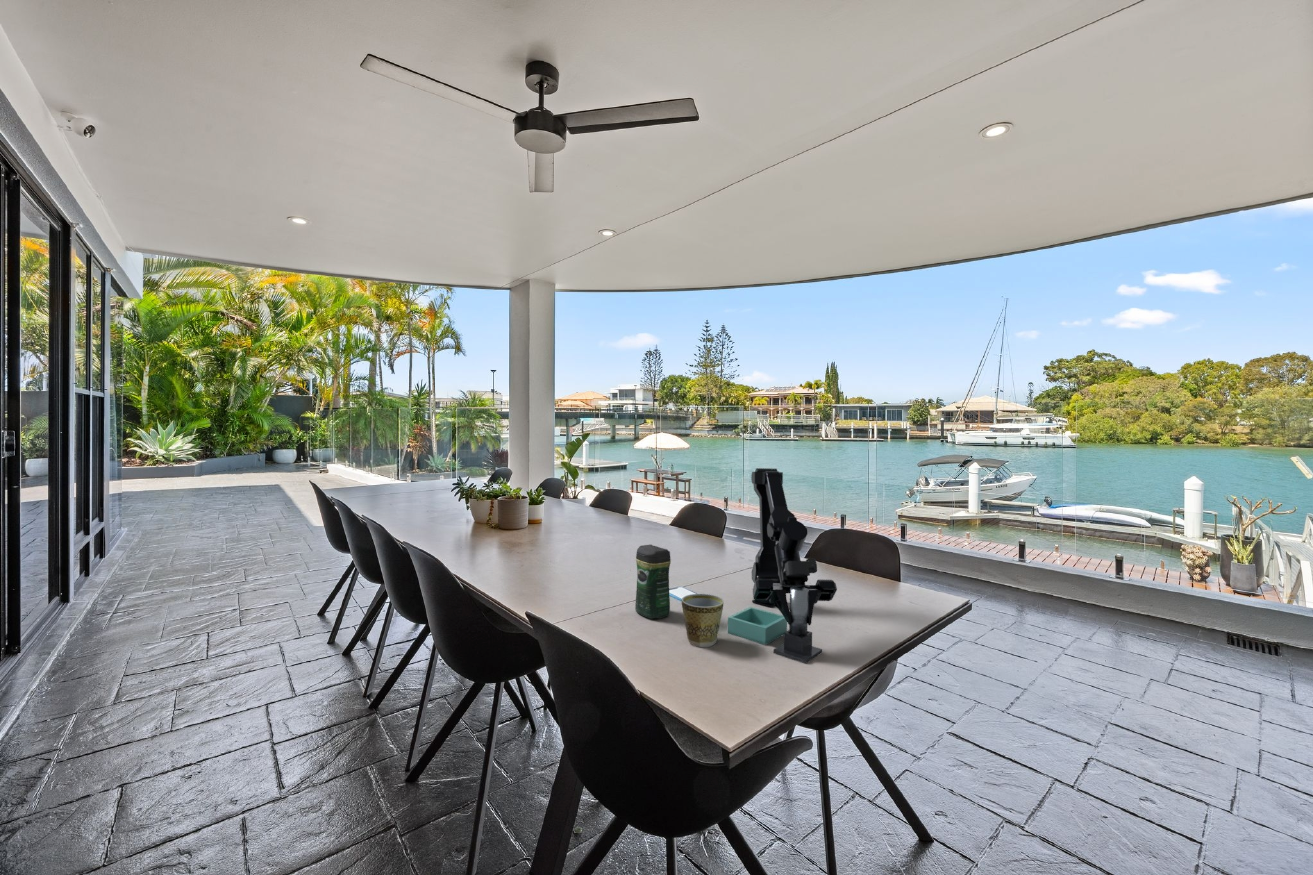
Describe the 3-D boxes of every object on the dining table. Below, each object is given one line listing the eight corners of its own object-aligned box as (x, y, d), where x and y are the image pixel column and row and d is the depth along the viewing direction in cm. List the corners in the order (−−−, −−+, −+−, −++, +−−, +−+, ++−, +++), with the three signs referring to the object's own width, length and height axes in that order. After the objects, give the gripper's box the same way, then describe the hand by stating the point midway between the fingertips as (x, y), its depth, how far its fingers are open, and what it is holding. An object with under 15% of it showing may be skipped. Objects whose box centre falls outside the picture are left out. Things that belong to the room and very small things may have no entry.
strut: (783, 649, 123) (785, 589, 123) (793, 643, 127) (794, 584, 126) (802, 655, 120) (803, 593, 120) (811, 649, 124) (813, 588, 123)
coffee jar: (674, 616, 146) (676, 547, 146) (651, 622, 141) (652, 551, 141) (653, 606, 154) (654, 541, 153) (630, 611, 149) (631, 544, 149)
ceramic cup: (728, 649, 125) (728, 606, 125) (685, 651, 123) (686, 607, 123) (713, 628, 138) (713, 589, 138) (674, 629, 136) (675, 590, 136)
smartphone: (693, 605, 154) (662, 590, 166) (692, 609, 154) (662, 593, 166) (713, 600, 158) (681, 586, 171) (712, 604, 158) (681, 589, 171)
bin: (727, 633, 135) (727, 617, 134) (750, 621, 142) (750, 606, 142) (765, 645, 128) (765, 628, 127) (786, 632, 135) (787, 616, 135)
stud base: (773, 653, 123) (773, 634, 123) (790, 642, 129) (790, 624, 129) (806, 663, 118) (806, 644, 118) (822, 652, 124) (822, 633, 124)
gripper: (755, 544, 127) (764, 607, 116) (835, 545, 127) (851, 608, 116) (749, 569, 135) (756, 629, 124) (824, 570, 135) (838, 630, 124)
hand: (800, 624), depth 122 cm, fingers closed on strut, 4 cm apart
